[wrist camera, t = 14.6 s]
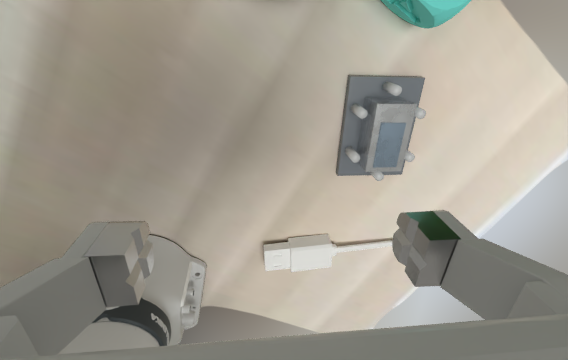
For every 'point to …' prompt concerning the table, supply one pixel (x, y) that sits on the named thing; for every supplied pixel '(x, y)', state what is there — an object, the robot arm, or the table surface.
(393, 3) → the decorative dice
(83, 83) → the table surface
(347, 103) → the peg board
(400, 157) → the block
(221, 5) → the table surface
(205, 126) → the table surface
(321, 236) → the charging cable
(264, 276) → the table surface
